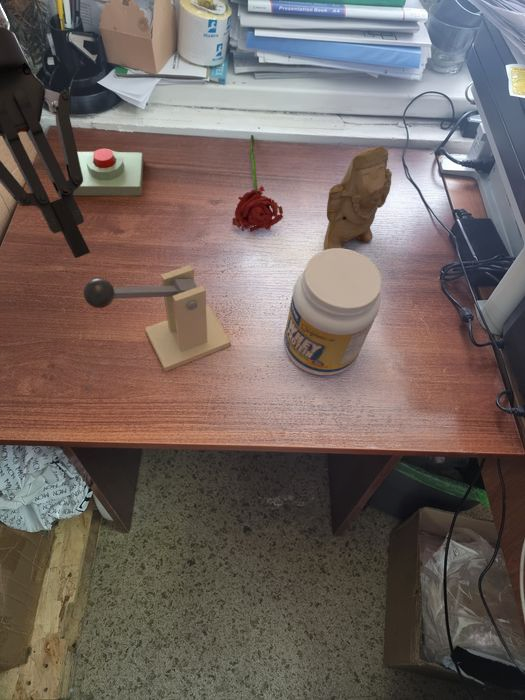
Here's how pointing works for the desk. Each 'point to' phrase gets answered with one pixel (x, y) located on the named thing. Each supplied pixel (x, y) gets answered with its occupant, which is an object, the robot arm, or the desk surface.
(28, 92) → the robot arm
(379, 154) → the figurine
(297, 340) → the supplement tub
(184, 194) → the desk surface
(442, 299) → the desk surface
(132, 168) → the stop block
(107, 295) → the switch lever
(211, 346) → the switch bracket
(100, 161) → the stop button
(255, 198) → the flower
